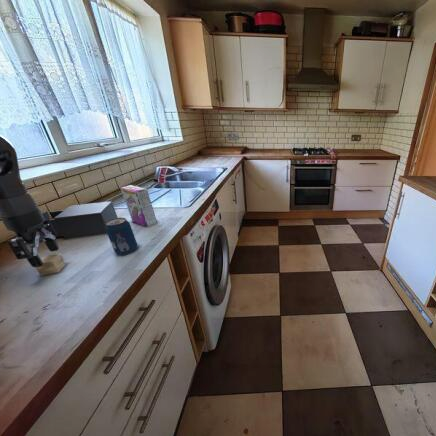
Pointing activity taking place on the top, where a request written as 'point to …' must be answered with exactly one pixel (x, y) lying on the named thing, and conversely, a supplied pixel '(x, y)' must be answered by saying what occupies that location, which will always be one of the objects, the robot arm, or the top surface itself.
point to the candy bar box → (139, 205)
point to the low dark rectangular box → (85, 219)
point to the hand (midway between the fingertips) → (47, 258)
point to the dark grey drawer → (53, 220)
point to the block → (51, 264)
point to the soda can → (121, 236)
